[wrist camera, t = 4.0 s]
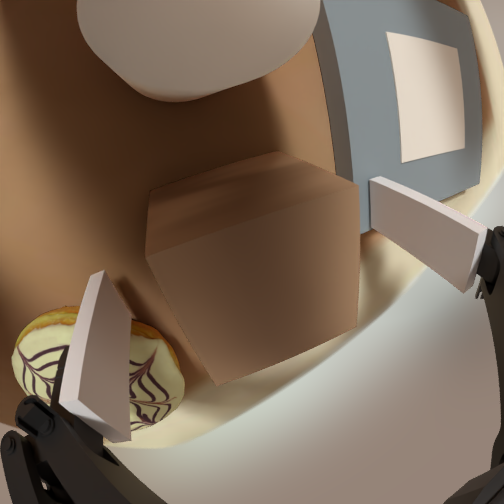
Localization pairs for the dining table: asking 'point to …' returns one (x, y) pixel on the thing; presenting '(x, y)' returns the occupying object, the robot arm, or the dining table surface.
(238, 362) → the walnut cube
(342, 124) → the slate board
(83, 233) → the dining table surface
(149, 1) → the marshmallow
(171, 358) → the decorated donut
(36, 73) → the dining table surface
